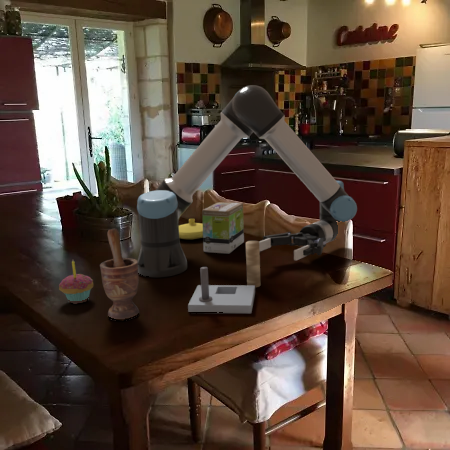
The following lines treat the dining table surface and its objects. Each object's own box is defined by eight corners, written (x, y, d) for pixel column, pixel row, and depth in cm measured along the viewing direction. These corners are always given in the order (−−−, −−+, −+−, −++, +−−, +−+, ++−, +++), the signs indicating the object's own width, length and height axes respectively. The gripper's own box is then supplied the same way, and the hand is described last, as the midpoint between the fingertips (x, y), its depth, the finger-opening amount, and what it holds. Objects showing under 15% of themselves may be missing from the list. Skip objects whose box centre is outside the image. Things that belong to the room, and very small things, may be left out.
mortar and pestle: (94, 311, 118) (84, 232, 113) (125, 301, 123) (118, 225, 119) (115, 325, 109) (106, 241, 105) (148, 314, 115) (141, 233, 110)
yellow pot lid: (221, 236, 182) (221, 218, 181) (188, 245, 172) (186, 226, 171) (196, 230, 194) (195, 213, 192) (164, 237, 184) (162, 220, 183)
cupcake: (95, 304, 122) (90, 259, 119) (60, 309, 120) (54, 263, 117) (94, 293, 130) (89, 250, 127) (61, 297, 128) (56, 254, 125)
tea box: (230, 254, 159) (228, 210, 156) (202, 252, 163) (200, 209, 159) (244, 242, 173) (243, 201, 169) (218, 240, 176) (216, 201, 173)
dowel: (246, 287, 129) (245, 244, 126) (247, 282, 132) (246, 240, 130) (260, 287, 129) (258, 244, 126) (260, 282, 132) (259, 240, 129)
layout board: (188, 312, 115) (185, 272, 112) (198, 292, 127) (196, 256, 125) (251, 313, 113) (249, 272, 110) (255, 292, 125) (253, 255, 123)
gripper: (351, 253, 143) (313, 272, 128) (283, 240, 160) (241, 256, 145) (352, 228, 142) (313, 245, 127) (282, 218, 158) (240, 232, 143)
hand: (274, 251), depth 136 cm, fingers open, 13 cm apart
